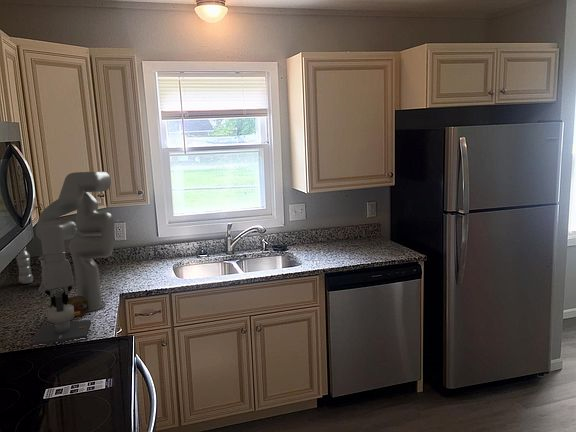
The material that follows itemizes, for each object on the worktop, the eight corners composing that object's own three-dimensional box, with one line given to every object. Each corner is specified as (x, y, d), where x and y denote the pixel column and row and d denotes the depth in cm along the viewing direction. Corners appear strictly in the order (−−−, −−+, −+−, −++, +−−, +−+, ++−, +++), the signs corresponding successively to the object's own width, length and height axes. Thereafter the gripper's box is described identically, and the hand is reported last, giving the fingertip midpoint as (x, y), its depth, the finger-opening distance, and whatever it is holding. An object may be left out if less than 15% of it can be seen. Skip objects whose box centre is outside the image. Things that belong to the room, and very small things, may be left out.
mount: (41, 329, 192) (39, 314, 191) (91, 323, 197) (89, 308, 196) (32, 346, 175) (30, 330, 175) (86, 339, 180) (85, 323, 180)
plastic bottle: (27, 285, 253) (23, 247, 250) (16, 285, 254) (11, 247, 251) (36, 281, 259) (31, 244, 256) (25, 281, 260) (20, 244, 257)
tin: (50, 320, 201) (47, 300, 200) (51, 317, 204) (49, 298, 203) (89, 315, 206) (87, 296, 204) (90, 313, 209) (88, 294, 207)
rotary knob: (47, 324, 179) (44, 299, 178) (49, 316, 187) (46, 292, 186) (80, 319, 183) (77, 294, 182) (80, 311, 192) (77, 288, 190)
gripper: (31, 263, 174) (37, 312, 176) (80, 255, 183) (85, 302, 186) (28, 259, 180) (34, 307, 182) (75, 252, 189) (80, 298, 192)
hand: (60, 304), depth 184 cm, fingers closed on rotary knob, 3 cm apart
